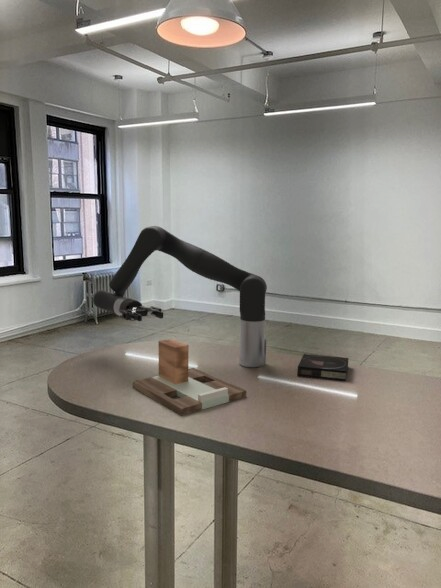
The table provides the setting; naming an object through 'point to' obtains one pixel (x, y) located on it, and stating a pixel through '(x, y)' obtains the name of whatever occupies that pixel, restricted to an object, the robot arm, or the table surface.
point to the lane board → (189, 391)
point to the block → (173, 361)
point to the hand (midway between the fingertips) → (151, 316)
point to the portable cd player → (323, 367)
